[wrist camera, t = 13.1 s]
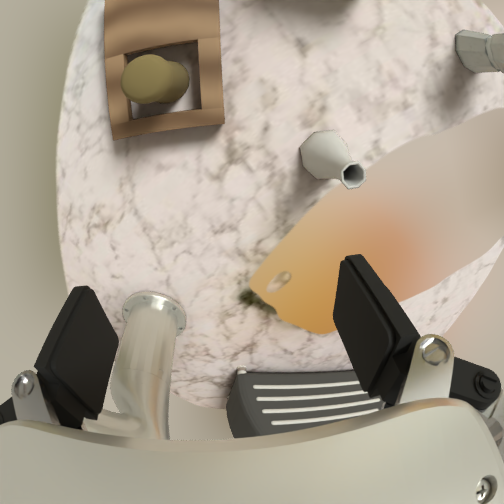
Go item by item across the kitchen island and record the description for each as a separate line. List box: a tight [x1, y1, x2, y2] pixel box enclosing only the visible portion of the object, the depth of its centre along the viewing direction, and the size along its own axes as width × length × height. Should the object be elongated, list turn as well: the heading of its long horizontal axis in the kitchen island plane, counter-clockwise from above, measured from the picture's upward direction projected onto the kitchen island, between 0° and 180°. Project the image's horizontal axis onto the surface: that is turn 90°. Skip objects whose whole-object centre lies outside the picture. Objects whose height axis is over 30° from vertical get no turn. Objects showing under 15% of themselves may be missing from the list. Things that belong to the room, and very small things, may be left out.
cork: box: [120, 54, 189, 104], centre depth 24 cm, size 6×6×11 cm
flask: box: [300, 130, 366, 189], centre depth 31 cm, size 7×7×10 cm
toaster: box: [226, 366, 384, 439], centre depth 59 cm, size 19×45×24 cm, turn 78°
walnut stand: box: [104, 0, 225, 140], centre depth 24 cm, size 22×14×4 cm, turn 2°
